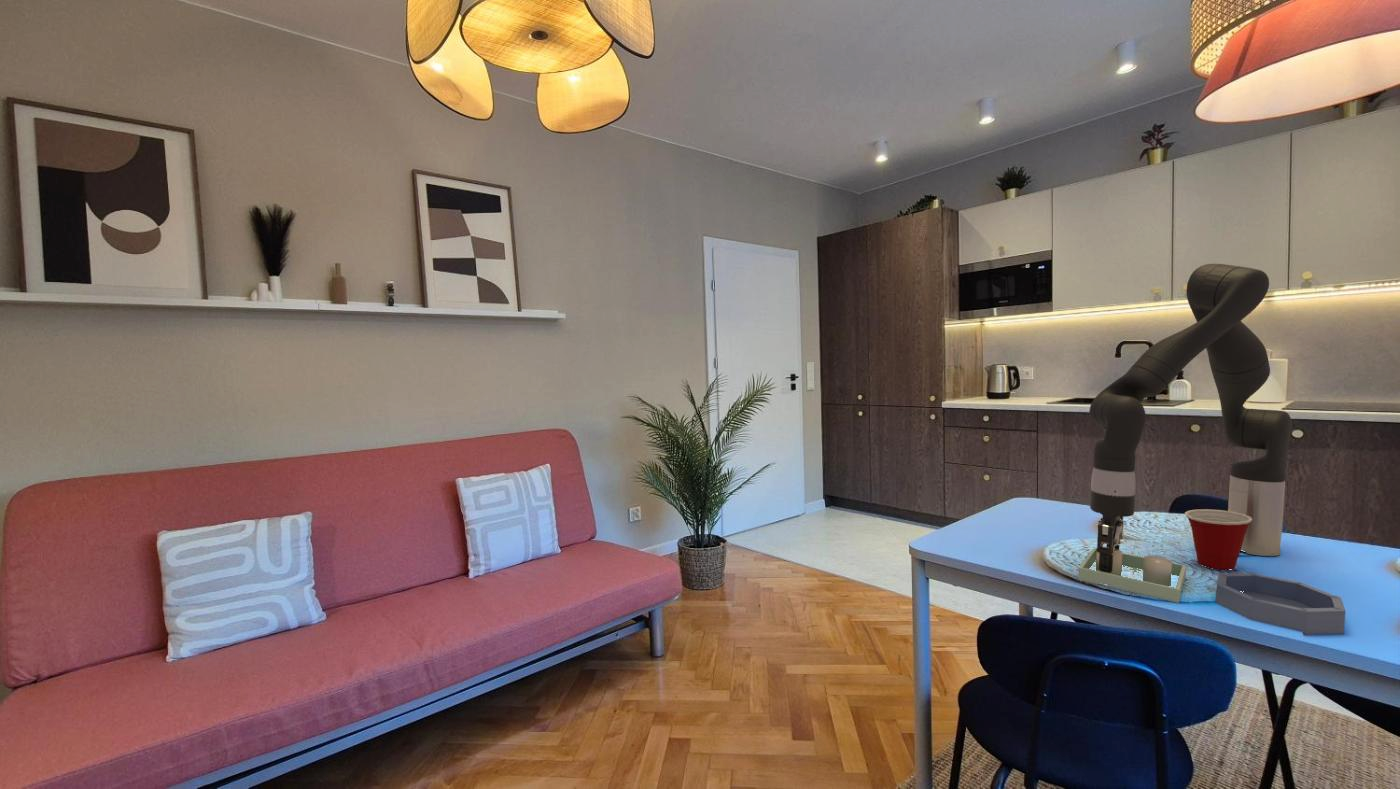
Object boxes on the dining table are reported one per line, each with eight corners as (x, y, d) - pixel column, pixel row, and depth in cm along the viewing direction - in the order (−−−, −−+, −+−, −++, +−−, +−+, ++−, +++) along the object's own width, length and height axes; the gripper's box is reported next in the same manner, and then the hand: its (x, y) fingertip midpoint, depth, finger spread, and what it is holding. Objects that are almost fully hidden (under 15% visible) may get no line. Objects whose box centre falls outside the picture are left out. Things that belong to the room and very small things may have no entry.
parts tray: (1093, 560, 130) (1093, 547, 129) (1185, 579, 119) (1186, 565, 118) (1077, 581, 118) (1078, 567, 118) (1178, 605, 107) (1179, 589, 107)
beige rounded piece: (1144, 577, 119) (1145, 554, 118) (1171, 583, 116) (1173, 559, 115) (1141, 584, 115) (1142, 559, 115) (1169, 590, 112) (1170, 565, 112)
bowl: (1218, 586, 115) (1219, 566, 115) (1336, 610, 104) (1338, 589, 104) (1214, 613, 104) (1215, 592, 103) (1347, 644, 93) (1349, 620, 92)
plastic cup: (1175, 555, 132) (1177, 504, 131) (1236, 563, 127) (1240, 510, 126) (1190, 572, 122) (1193, 517, 121) (1257, 581, 117) (1261, 524, 116)
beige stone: (1097, 567, 124) (1098, 545, 124) (1122, 572, 121) (1124, 549, 121) (1093, 573, 121) (1095, 550, 121) (1119, 579, 118) (1120, 555, 118)
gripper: (1129, 500, 112) (1125, 581, 113) (1139, 486, 122) (1135, 561, 123) (1084, 493, 117) (1080, 571, 118) (1097, 481, 127) (1094, 552, 129)
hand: (1108, 566), depth 121 cm, fingers open, 7 cm apart
